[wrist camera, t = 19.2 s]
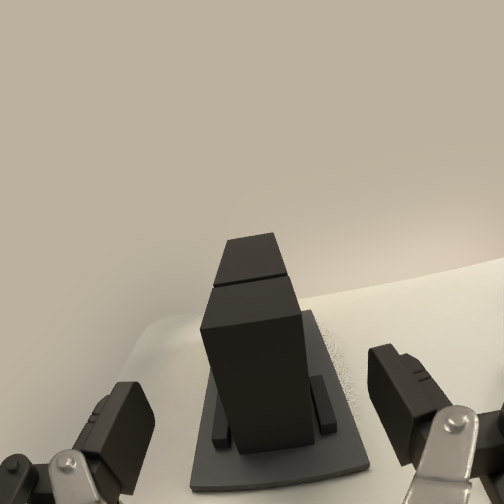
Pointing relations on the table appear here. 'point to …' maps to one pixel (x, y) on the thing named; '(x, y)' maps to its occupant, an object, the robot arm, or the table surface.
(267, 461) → the dock
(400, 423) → the robot arm
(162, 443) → the table surface
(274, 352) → the black rectangular box
